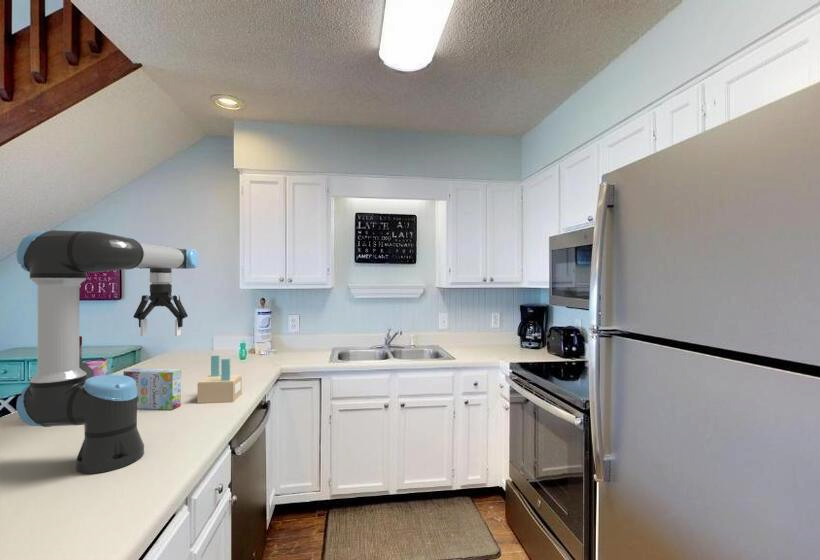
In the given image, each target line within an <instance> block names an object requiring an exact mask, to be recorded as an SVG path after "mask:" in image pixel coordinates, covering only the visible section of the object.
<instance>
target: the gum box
mask: <svg viewBox="0 0 820 560" xmlns="http://www.w3.org/2000/svg"><path fill="white" fill-rule="evenodd" d="M108 361H109V359H108V358H101V359H100V358H99V359H88V360H86V361H85V362H84V361H83V363H84V364H86V365H87V366H88V367H90V368H91V369H92V370H93V372H94V376H100V375H109V365H108V364H109V362H108Z"/></svg>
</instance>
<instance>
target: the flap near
mask: <svg viewBox="0 0 820 560" xmlns="http://www.w3.org/2000/svg"><path fill="white" fill-rule="evenodd" d="M220 360H221V361H220V362H221V363H220V364H221V366H220V368H221V371H220V372H221V378H217V379H204V378H202V379H200V380H199V381H198V382H197V385H198V384H204V383H233V382H235V381H236V380H237V378H230V375H231V358H222V359H220Z"/></svg>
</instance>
